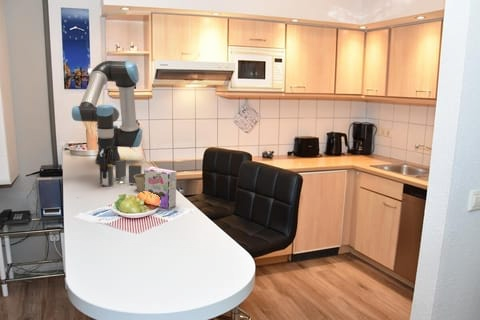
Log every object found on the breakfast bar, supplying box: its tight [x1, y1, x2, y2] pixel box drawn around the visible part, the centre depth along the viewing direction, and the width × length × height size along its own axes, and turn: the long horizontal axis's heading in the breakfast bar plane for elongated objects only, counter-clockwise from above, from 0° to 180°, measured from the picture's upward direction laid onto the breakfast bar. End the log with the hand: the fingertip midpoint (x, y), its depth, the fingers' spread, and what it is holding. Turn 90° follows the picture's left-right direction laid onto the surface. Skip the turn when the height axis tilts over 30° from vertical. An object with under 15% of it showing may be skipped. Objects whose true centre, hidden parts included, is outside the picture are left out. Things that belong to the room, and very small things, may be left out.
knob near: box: [114, 157, 127, 180], centre depth 217 cm, size 2×6×11 cm, turn 157°
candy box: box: [143, 166, 177, 210], centre depth 183 cm, size 14×6×16 cm, turn 62°
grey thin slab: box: [128, 163, 143, 186], centre depth 208 cm, size 2×6×11 cm, turn 86°
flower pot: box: [134, 173, 144, 193], centre depth 200 cm, size 9×9×9 cm
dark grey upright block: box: [99, 164, 114, 187], centre depth 204 cm, size 2×6×11 cm, turn 86°
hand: (106, 183), depth 205 cm, fingers closed on dark grey upright block, 2 cm apart
